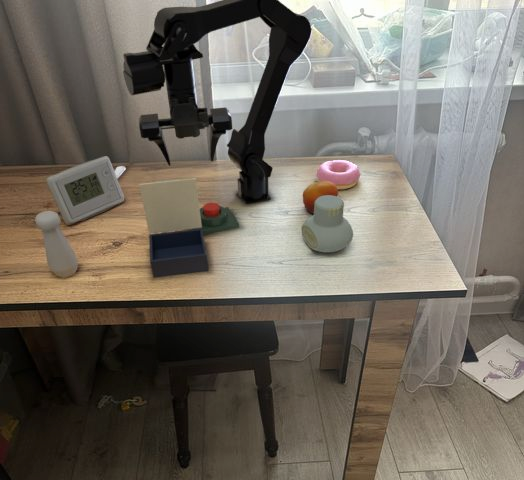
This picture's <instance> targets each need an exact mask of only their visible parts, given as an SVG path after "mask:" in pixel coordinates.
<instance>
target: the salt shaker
mask: <svg viewBox="0 0 524 480" xmlns="http://www.w3.org/2000/svg"><path fill="white" fill-rule="evenodd" d="M34 220H35V224H36V227H37V228H38V229H39V230H41V231H42V235H43V242H44V250H45V257H46V264H47V266H48V269H49V270H50V271H51V272H52V274H54V275H55V276H56V277H58V278H62V279H66V278H69V277H72V276H74V275H75V274H76V272H77V270H78V266H79V259H78V256H77V255H76V253H75V251H74V249H73V248H72V246H71V244H70V243H69V241H68V239H67V238H66V236H65V234H64V232H63V230H62V228H61V227H60V225H61V222H62V221H61V218H60V216H59V214H58V213H57V212H56V211H53V210H44V211H42V212H39V213H38V214H36V216H35V218H34Z"/></svg>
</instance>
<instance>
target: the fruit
mask: <svg viewBox="0 0 524 480" xmlns="http://www.w3.org/2000/svg"><path fill="white" fill-rule="evenodd" d="M325 195H333V196H337V197H339V189H337V187H336V185H334V184H333V183H332V182H329V181H323V182H319V181H315V182H313V183H310V184H309V185H308V186H307V187H306V188H305V189H304V190H303V192H302V203H303V205H304V207H305V209H306V210H307V211H308V212H309V213H311V214H314V203H315V200H316V199H317V198H319V197H321V196H325Z"/></svg>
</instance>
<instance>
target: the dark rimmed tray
mask: <svg viewBox="0 0 524 480" xmlns="http://www.w3.org/2000/svg"><path fill="white" fill-rule="evenodd" d="M148 237H149V239H148V240H149V263H150V267H151V272H152V276H153V277H152V278H154V279H157V278H164V277H173V276H180V275H190V274H196V273H197V274H198V273H206V272H209V270H210V269H209V262H208V254H207V249H206V244H205V237H204V235H203V231H202V229H193V230H192V229H185V230H176V231H168V232H159V233H150V234H149V235H148Z"/></svg>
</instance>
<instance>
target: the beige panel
mask: <svg viewBox="0 0 524 480" xmlns="http://www.w3.org/2000/svg"><path fill="white" fill-rule="evenodd" d="M138 187H139V192H140V196H141V202H142V206H143V211H144V216H145V217H144V218H145V222H146V226H147V231H148V234H149V235H150V234H158V233H167V232H176V231H185V230H192V229H194V228H202V224H201V216H200V202H199V193H198V185H197V179H196V177H193V178H172V179H166V180H165V179H164V180H155V181H152V182H145V183H143V182H142V183H138Z"/></svg>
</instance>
